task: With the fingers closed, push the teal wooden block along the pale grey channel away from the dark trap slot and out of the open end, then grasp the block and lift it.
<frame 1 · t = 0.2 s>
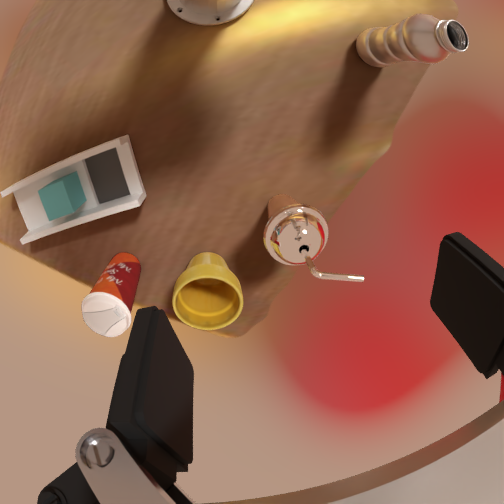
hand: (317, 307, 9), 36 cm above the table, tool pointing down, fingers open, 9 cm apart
paper cup: (126, 265, 48), on the table
plant pot: (208, 268, 50), on the table
cup with straw: (282, 207, 47), on the table
trap channel: (72, 188, 40), on the table
teal block: (69, 190, 39), point 1 cm above the table, touching trap channel
plastic bottle: (369, 49, 35), on the table
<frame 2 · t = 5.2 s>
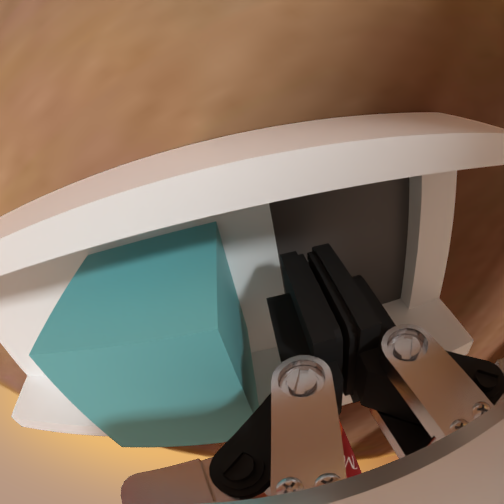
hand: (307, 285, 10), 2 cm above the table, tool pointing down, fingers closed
paper cup: (302, 425, 20), on the table
trap channel: (179, 276, 12), on the table
teal block: (169, 296, 11), point 1 cm above the table, touching gripper, trap channel
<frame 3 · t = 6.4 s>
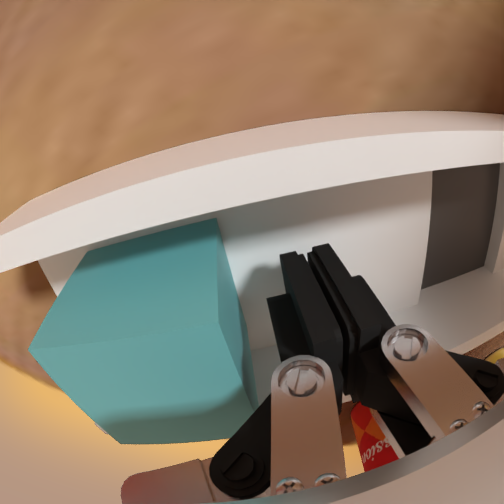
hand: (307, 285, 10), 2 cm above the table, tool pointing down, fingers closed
paper cup: (380, 401, 20), on the table
trap channel: (335, 239, 12), on the table
teal block: (169, 292, 11), point 1 cm above the table, touching gripper
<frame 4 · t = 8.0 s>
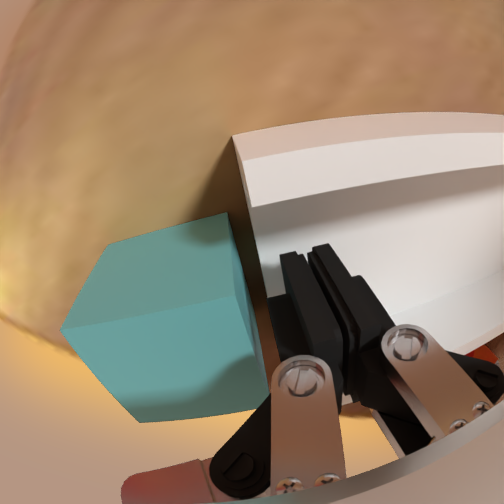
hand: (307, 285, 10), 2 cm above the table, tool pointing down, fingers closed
paper cup: (462, 365, 20), on the table
trap channel: (479, 207, 12), on the table
teal block: (248, 307, 10), point 2 cm above the table, tilted 90°, touching gripper
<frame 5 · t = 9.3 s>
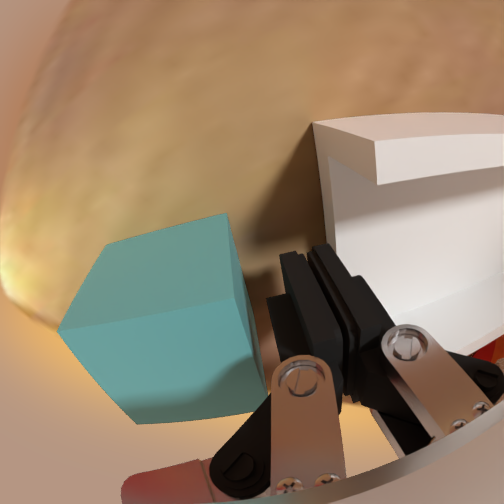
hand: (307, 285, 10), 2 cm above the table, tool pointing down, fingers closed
paper cup: (483, 354, 20), on the table
teal block: (247, 308, 10), point 2 cm above the table, tilted 90°, touching gripper
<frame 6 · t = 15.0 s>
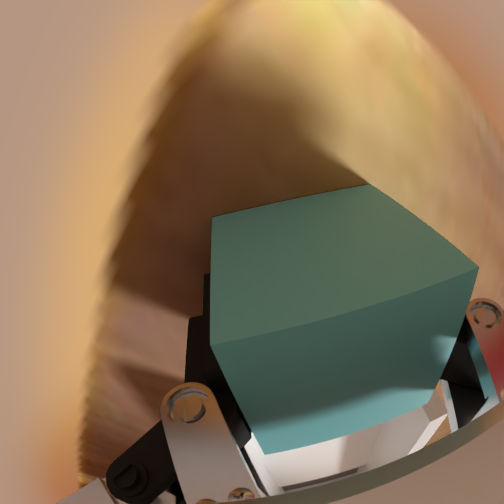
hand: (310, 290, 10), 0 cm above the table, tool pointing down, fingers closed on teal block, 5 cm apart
trap channel: (319, 454, 19), on the table
teal block: (329, 370, 9), point 2 cm above the table, tilted 90°, touching gripper
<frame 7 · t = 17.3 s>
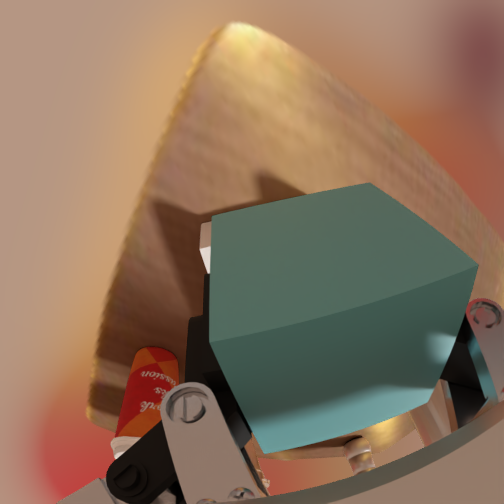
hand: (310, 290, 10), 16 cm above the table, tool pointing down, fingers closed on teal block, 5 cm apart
paper cup: (156, 359, 34), on the table
cup with straw: (239, 439, 48), on the table
trap channel: (278, 311, 32), on the table
teal block: (328, 368, 9), point 18 cm above the table, tilted 91°, touching gripper
plastic bottle: (353, 439, 58), on the table
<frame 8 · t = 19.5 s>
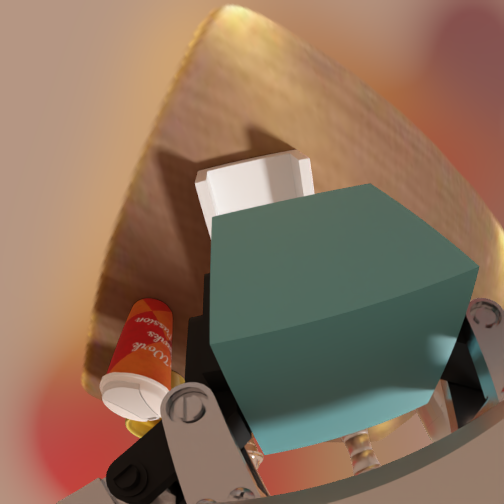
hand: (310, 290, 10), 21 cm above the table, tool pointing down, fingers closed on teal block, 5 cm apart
paper cup: (151, 313, 36), on the table
plant pot: (164, 379, 43), on the table
cup with straw: (233, 413, 50), on the table
trap channel: (268, 261, 34), on the table
teal block: (329, 369, 9), point 23 cm above the table, tilted 90°, touching gripper
plastic bottle: (350, 422, 59), on the table
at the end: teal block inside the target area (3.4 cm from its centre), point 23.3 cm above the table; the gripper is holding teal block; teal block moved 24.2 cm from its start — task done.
